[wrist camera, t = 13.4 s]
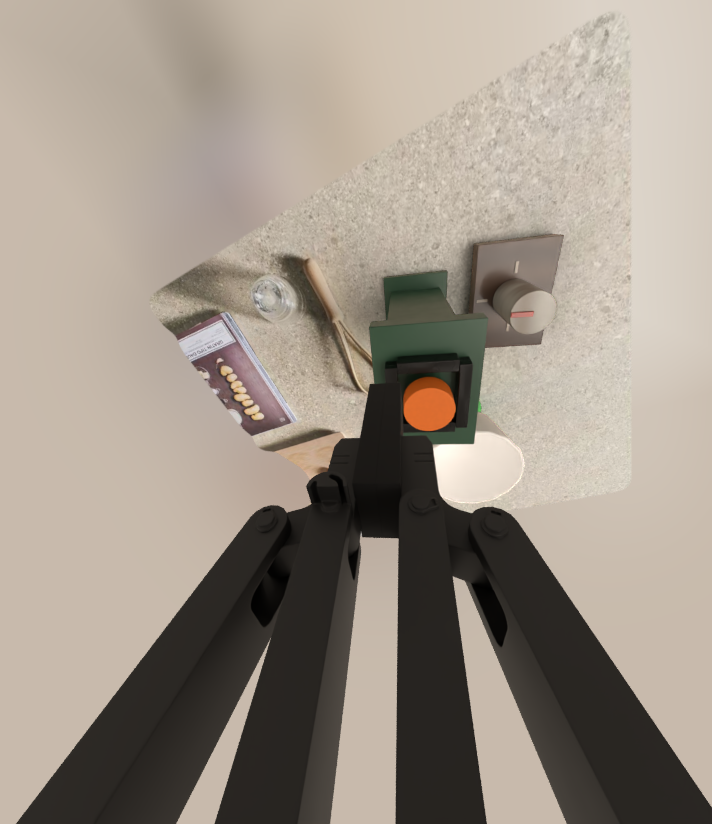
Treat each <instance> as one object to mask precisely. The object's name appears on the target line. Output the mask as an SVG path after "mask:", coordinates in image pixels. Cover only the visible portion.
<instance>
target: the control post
mask: <svg viewBox="0 0 712 824" xmlns="http://www.w3.org/2000/svg"><path fill="white" fill-rule="evenodd" d="M446 294H447V271H446V270H445V271H436V272H426V273H417V274H407V275H398V276H389V277H384V295H385V310H386V321H375V322H371V323H370V327H369V332H370V342H371V353H372V363H373V374H374V384H382V383H398V382H401V396H402V413H403V436H421V435H426V436H427V437H428V438H429V440H430V441H431V442H432V444H433V445H441V444H474V441H475V432H476V423H477V414H478V405H479V396H480V387H481V378H482V369H483V360H484V351H485V343H486V334H487V325H488V317H487V316H486V315H485V314H484V313H472V314H460V315H455V314H454V312H453V310H452V309H451V307H450V305H449V303H448V302H447V300H446ZM423 377H435V378H438V379H441V380H443V381H444V382H446V383H447V384H448V386H449V387H450V389H451V392H452V395H453V398H454V402H455V406H456V410H455V414H454V417H453V419H452V420H451V421H450V422H449V423H448V424H447V425H446V426H444V427H443V428H440V429H438V430H433V431H423V430H419V429H417V428H415V427H413V426H411V425H410V424H409V423H408V422H407V420H406V418H405V416H404V407H403V397H404V393H405V390H406V388H407V387H408V386H409V385H410V384H411V383H412V382H413V381H415V380H417V379H419V378H423Z"/></svg>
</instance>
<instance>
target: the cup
mask: <svg viewBox="0 0 712 824" xmlns="http://www.w3.org/2000/svg"><path fill="white" fill-rule="evenodd" d="M433 451H434V459H435V466H436V473H437V481H438V488H439V493H440V496H441V497H442V498H445V499H448V500H451V501H454V502H457V503H480V502H485V501H489V500H494V499H496V498H497V497H499V496H501V495H503V494H505V493H507V492H509V491H510V490H511V489H512V488H513V487H514V486H515V485H516V484H517V482H518V481H519V480H520V479H521V477H522V473H523V470H524V467H525V462H524V458H523V455H522V451H521V449H520V448H519V447H518V446H517V445H516V444H515V443H514V442H513V441H512V440H511V439H510V438H509V437H508V436H507V435H506V434H505V433H504V432H503V431H502V430H501V428H500V427H499V426H498V425H497V424H496V423H495V422H494V421H493V420H492V419H491V418H489V417H488V416H487V415H486V414H483V413H481V405H480V402H479V405H478V414H477V423H476V432H475V441H474V444H441V445H433Z"/></svg>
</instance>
